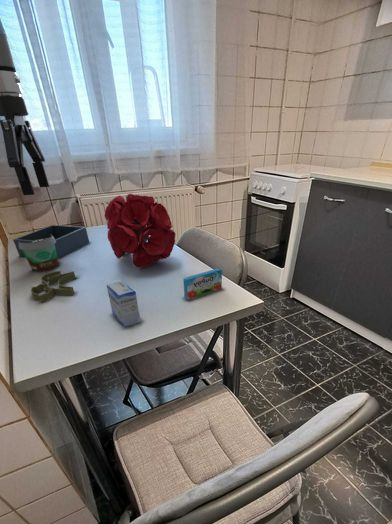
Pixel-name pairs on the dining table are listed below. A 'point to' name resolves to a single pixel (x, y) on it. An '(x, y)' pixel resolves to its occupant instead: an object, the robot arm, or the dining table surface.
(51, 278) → the cookie cutter
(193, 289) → the light blue food packet
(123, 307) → the medicine box
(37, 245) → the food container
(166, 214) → the bouquet
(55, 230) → the tote
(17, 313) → the dining table surface
